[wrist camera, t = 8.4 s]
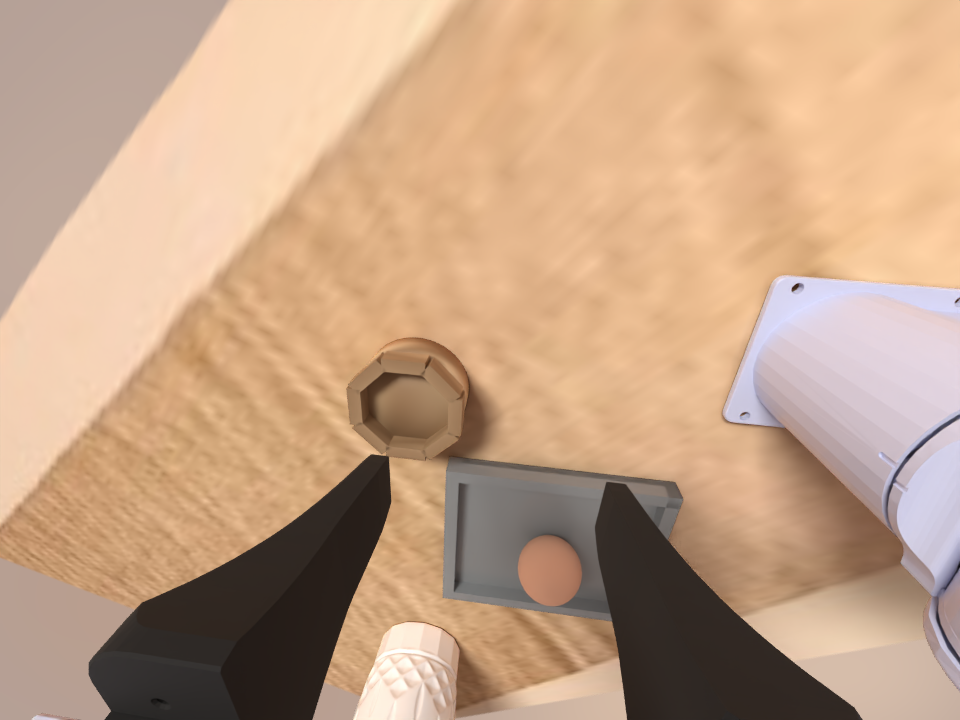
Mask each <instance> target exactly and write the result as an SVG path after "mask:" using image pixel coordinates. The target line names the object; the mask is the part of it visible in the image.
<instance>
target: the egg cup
mask: <svg viewBox="0 0 960 720" xmlns="http://www.w3.org/2000/svg"><path fill="white" fill-rule="evenodd" d="M348 385H349V386H348V387H347V399H348V409H349V418H350V424H352V425H354V426H353V429H354V430H355V431H356V432H357V433H358V434H359V435H361V436H362V437H363V438H364V439H365V440H366V441H367V442H368V443H370V444H371V445H372V446H373V447H374V448H375V449H376V450H377V451H379V452H380V453H381V454H383V453H385V452H386V456H389V457H396V458H405V459H413V460H422V461H426V458H428V459H429V460H430V459H432V458H433V457H435V456H436V455H438V454H439V453H441V452H442V451H444V450H445V449H446V448H448V447H449V446H451V445H452V444H454V443H455V442H457V441H458V440H459V437H460V436H461V434H462V430H463V425H464V411H465V407H466V403H467V399H468V395H469V382H468V377H467V374H466V371H465V369H464V367H463V365H462V364H461V362H460V361H459V360H458V358H457V357H456V356H455V355H454V354H453V353H452V352H451V351H449V350H448V349H447V348H445V347H444V346H442V345H440V344H438V343H436V342H433V341H431V340H427V339H423V338H403V339H398V340H396V341H393V342H391V343H389V344H387V345H385V346H384V347H383V348H382V349H381V350H380V351H379V352H378V353H377V354H376V355H375V356H374V357H373V359H372V360H371V361H370V362H369V364H368V365H367V366H366V367H365V368H364V369H363V370H361V371H360V372H359V373H358V374H357V375H356V376H355V377H354V378H353V379H352V380H351V382H350V383H349V384H348Z"/></svg>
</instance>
